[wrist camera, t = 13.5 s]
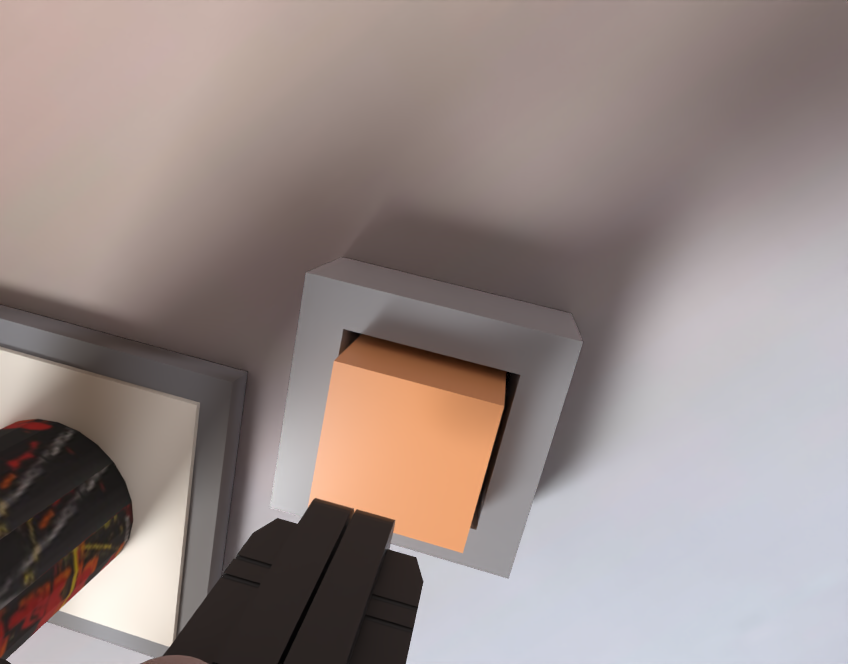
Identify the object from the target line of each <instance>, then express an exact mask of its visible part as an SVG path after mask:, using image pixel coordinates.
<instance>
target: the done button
mask: <svg viewBox="0 0 848 664" xmlns="http://www.w3.org/2000/svg"><path fill="white" fill-rule="evenodd" d="M505 385H506V371H504V370H500V369H496V368H492V367H488V366H484V365H480V364H477V363H473V362H469V361H465V360H461V359H457V358H454V357H450V356H446V355H442V354H438V353H434V352H430V351H427V350H423V349H419V348H415V347H411V346H407V345H403V344H400V343H396V342H392V341H388V340H384V339H380V338H376V337H373V336H369V335H365V334H361V335H360V336H359V337H358V338H357V339H356V340H355V341H354V342H353V343H352V344H351V345H350V346H349V347H348V348H347V349H346V350H344V351H343V352H342V353H341V354H340V355H339V356H338V357H337V358H336V359H335V360H334V362H333V368H332V374H331V379H330V385H329V391H328V396H327V402H326V408H325V413H324V419H323V424H322V430H321V436H320V441H319V447H318V453H317V458H316V464H315V470H314V475H313V481H312V487H311V492H310V498H309V503H308V507H309V505H310V504H311V502H312V501H313V499H314V498H318V499H321V500H325V501H329V502H332V503H336V504H339V505H343V506H347V507H350V508H354V512H355V511H356V510H357V509H358V510H362V511H365V512H369V513H372V514H376V515H379V516H383V517H387V518H390V519H394V520H395V526H394V531H393V533H396V534H399V535H402V536H406V537H409V538H413V539H416V540H419V541H423V542H426V543H430V544H433V545H436V546H440V547H443V548H447V549H450V550H453V551H457V552H460V553H463V551H464V547H465V544H466V540H467V537H468V533H469V530H470V526H471V522H472V519H473V515H474V512H475V508H476V505H477V501H478V498H479V494H480V491H481V487H482V483H483V480H484V476H485V473H486V469H487V466H488V462H489V459H490V455H491V451H492V448H493V444H494V441H495V437H496V434H497V430H498V427H499V423H500V420H501V416H502V412H503V409H504V402H505Z"/></svg>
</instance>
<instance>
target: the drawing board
mask: <svg viewBox="0 0 848 664" xmlns="http://www.w3.org/2000/svg"><path fill="white" fill-rule="evenodd" d="M247 373H248V372H246V371H242V370H239V369H235V368H231V367H228V366H224V365H220V364H217V363H213V362H209V361H206V360H202V359H198V358H195V357H191V356H187V355H184V354H180V353H176V352H173V351H169V350H165V349H162V348H158V347H154V346H151V345H147V344H143V343H140V342H136V341H132V340H129V339H125V338H121V337H118V336H114V335H110V334H107V333H103V332H99V331H96V330H92V329H88V328H85V327H81V326H77V325H74V324H70V323H66V322H63V321H59V320H55V319H52V318H48V317H44V316H40V315H37V314H33V313H29V312H26V311H22V310H18V309H15V308H11V307H7V306H4V305H0V429H2V428H4V427H6V426H9V425H11V424H13V423H15V422H17V421H22V420H31V419H42V420H48V421H54V422H59V423H61V424H63V425H66V426H68V427H70V428H73V429H75V430H77V431H79V432H81V433H82V434H83V435H85V436H86V437H88V438H89V439H90V440H92V441H93V442H95V443H96V444H97V445H98V446H99V447H100V448H101V449H102V450H103V451H104V452H105V453H106V454H107V455H108V456H109V457H110V458H111V460H112V461H113V462H114V463H115V465H116V467H117V468H118V470H119V472H120V473H121V475H122V477H123V478H124V480H125V482H126V485H127V488H128V491H129V494H130V497H131V500H132V510H133V525H132V529H131V533H130V538H129V540H128V542H127V543H126V545H125V546H124V548H123V550H122V551H121V553H120V554H119V555H118V556H117V557H116V558H114V559H113V560H112V561H111V562H110V563H109V564H108V565H107V566H106V567H105V568H104V569H103V570H102V571H100V572H99V573H98V574H97V575H96V576H95V577H94V578H93V579H92V580H91V581H90V582H89V583H88V584H87V585H85V586H84V587H83V588H82V589H81V590H80V591H79V592H78V593H77V594H76V595H75V596H74V597H73V598H71V599H70V600H69V601H68V602H67V603H66V604H65V605H64V606H63V607H62V608H61V609H60V610H59V611H57V612H56V613H55V614H54V615H53V616H52V617H51V618H50V619H49V620H48V621H47V622H49V623H52V624H55V625H58V626H61V627H64V628H67V629H70V630H73V631H76V632H79V633H82V634H85V635H88V636H91V637H94V638H97V639H100V640H103V641H106V642H109V643H112V644H115V645H118V646H121V647H124V648H127V649H130V650H133V651H136V652H139V653H142V654H145V655H148V656H151V657H154V658H157V657H162V656H163V655H164V653H165V652H166V651H167V650H168V648H169V647H170V646H171V644H172V643H173V642H174V640H175V639H176V637H177V636H178V635H179V633H180V632H181V631H182V629H183V628H184V627H185V625H186V624H187V622H188V621H189V620H190V618H191V617H192V616H193V614H194V613H195V611H196V610H197V609H198V607H199V606H200V605H201V603H202V602H203V601H204V599H205V598H206V596H207V595H208V594H209V592H210V591H211V590H212V588H213V587H214V586H215V584H216V583H217V581H218V580H219V579H220V577H221V575H222V567H223V559H224V551H225V544H226V536H227V528H228V520H229V513H230V505H231V497H232V489H233V482H234V474H235V466H236V458H237V451H238V443H239V435H240V427H241V420H242V412H243V404H244V396H245V389H246V381H247Z"/></svg>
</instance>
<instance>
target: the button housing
mask: <svg viewBox="0 0 848 664" xmlns="http://www.w3.org/2000/svg"><path fill="white" fill-rule="evenodd" d="M361 334H365V335H369V336H373V337H376V338H380V339H384V340H388V341H392V342H396V343H400V344H403V345H407V346H411V347H415V348H419V349H423V350H427V351H430V352H434V353H438V354H442V355H446V356H450V357H454V358H457V359H461V360H465V361H469V362H473V363H477V364H480V365H484V366H488V367H492V368H496V369H500V370H504V371H507V372H511V376H510V379H509V383H508V386H507V390H506V394H505V402H504V409H503V412H502V416H501V420H500V423H499V427H498V430H497V434H496V437H495V441H494V444H493V448H492V451H491V455H490V459H489V462H488V466H487V469H486V473H485V476H484V480H483V483H482V487H481V491H480V494H479V498H478V501H477V505H476V508H475V512H474V515H473V519H472V522H471V526H470V530H469V533H468V537H467V540H466V544H465V547H464V551H463V553H460V552H457V551H453V550H450V549H447V548H443V547H440V546H436V545H433V544H430V543H426V542H423V541H419V540H416V539H413V538H409V537H406V536H402V535H399V534H396V533H393V535H392V539H391V544H394V545H397V546H400V547H404V548H407V549H410V550H414V551H417V552H421V553H424V554H427V555H431V556H434V557H437V558H441V559H444V560H448V561H451V562H454V563H458V564H461V565H464V566H468V567H471V568H474V569H478V570H481V571H485V572H488V573H491V574H495V575H498V576H501V577H505V578H509V575H510V572H511V569H512V566H513V563H514V559H515V556H516V553H517V550H518V547H519V544H520V540H521V537H522V534H523V531H524V528H525V525H526V521H527V518H528V515H529V512H530V509H531V506H532V502H533V499H534V496H535V493H536V490H537V487H538V483H539V480H540V477H541V474H542V471H543V468H544V464H545V461H546V458H547V455H548V452H549V449H550V446H551V442H552V439H553V436H554V433H555V430H556V427H557V423H558V420H559V417H560V414H561V411H562V408H563V404H564V401H565V398H566V395H567V392H568V389H569V385H570V382H571V379H572V376H573V373H574V370H575V366H576V363H577V360H578V357H579V354H580V351H581V347H582V344H583V340H582V337H581V335H580V333H579V330H578V328H577V325H576V323H575V321H574V318H573V316H572V314H571V313H568V312H564V311H560V310H556V309H551V308H547V307H543V306H539V305H535V304H531V303H527V302H523V301H519V300H515V299H511V298H507V297H503V296H499V295H495V294H491V293H486V292H482V291H478V290H474V289H470V288H466V287H462V286H458V285H454V284H450V283H446V282H442V281H438V280H434V279H430V278H425V277H421V276H417V275H413V274H409V273H405V272H401V271H397V270H393V269H389V268H385V267H381V266H377V265H373V264H369V263H365V262H360V261H356V260H352V259H348V258H344V257H341V258H339V259H336V260H334V261H332V262H329V263H327V264H324V265H322V266H320V267H317V268H315V269H312V270H310V271H308V272H306V274H305V281H304V287H303V294H302V300H301V307H300V313H299V320H298V326H297V333H296V340H295V346H294V353H293V359H292V366H291V372H290V379H289V385H288V392H287V398H286V405H285V411H284V418H283V424H282V431H281V437H280V444H279V450H278V457H277V463H276V470H275V476H274V483H273V489H272V496H271V502H270V508H272V509H276V510H279V511H283V512H286V513H289V514H293V515H296V516H299V517H302V516H303V515H304V513H305V512H306V510H307V508H308V503H309V498H310V492H311V487H312V481H313V475H314V470H315V464H316V458H317V453H318V447H319V441H320V436H321V430H322V424H323V419H324V413H325V408H326V402H327V396H328V391H329V385H330V379H331V374H332V368H333V362H334V360H335V359H336V358H337V357H338V356H339V355H340V354H341V353H342V352H343V351H344V350H346V349H347V348H348V347H349V346H350V345H351V344H352V343H353V342H354V341H355V340H356V339H357V338H358V337H359V336H360V335H361Z"/></svg>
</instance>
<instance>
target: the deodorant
mask: <svg viewBox="0 0 848 664" xmlns="http://www.w3.org/2000/svg"><path fill="white" fill-rule="evenodd" d="M132 525H133V510H132V500H131V497H130V494H129V491H128V488H127V485H126V482H125V480H124V478H123V477H122V475H121V473H120V472H119V470H118V468H117V467H116V465H115V463H114V462H113V461H112V460H111V458H110V457H109V456H108V455H107V454H106V453H105V452H104V451H103V450H102V449H101V448H100V447H99V446H98V445H97V444H96V443H95V442H93V441H92V440H90V439H89V438H88V437H86V436H85V435H83V434H82V433H81V432H79V431H77V430H75V429H73V428H70V427H68V426H66V425H63V424H61V423H59V422H54V421H48V420H42V419H31V420H22V421H17V422H15V423H13V424H11V425H9V426H6V427H4V428H2V429H0V658H1V659H4V660H6V659H7V658H8V657H9V656H10V655H11V654H12V653H13V652H14V651H16V650H17V649H18V648H19V647H20V646H21V645H22V644H23V643H24V642H25V641H26V640H27V639H28V638H30V637H31V636H32V635H33V634H34V633H35V632H36V631H37V630H38V629H39V628H40V627H41V626H42V625H43V624H45V623H46V622H47V621H48V620H49V619H50V618H51V617H52V616H53V615H54V614H55V613H56V612H57V611H59V610H60V609H61V608H62V607H63V606H64V605H65V604H66V603H67V602H68V601H69V600H70V599H71V598H73V597H74V596H75V595H76V594H77V593H78V592H79V591H80V590H81V589H82V588H83V587H84V586H85V585H87V584H88V583H89V582H90V581H91V580H92V579H93V578H94V577H95V576H96V575H97V574H98V573H99V572H100V571H102V570H103V569H104V568H105V567H106V566H107V565H108V564H109V563H110V562H111V561H112V560H113V559H114V558H116V557H117V556H118V555H119V554H120V553H121V551H122V550H123V548H124V546H125V545H126V543H127V542H128V540H129V538H130V533H131V529H132Z"/></svg>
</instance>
